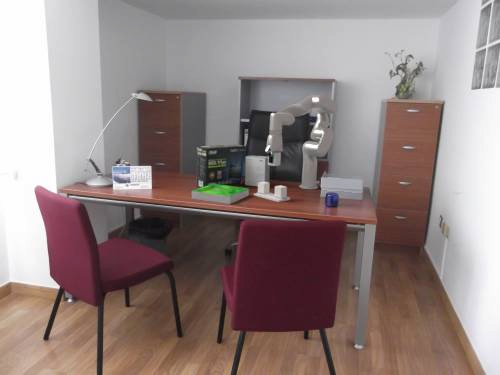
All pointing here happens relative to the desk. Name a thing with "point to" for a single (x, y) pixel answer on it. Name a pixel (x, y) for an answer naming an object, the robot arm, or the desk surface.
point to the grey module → (275, 159)
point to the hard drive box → (256, 170)
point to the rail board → (278, 196)
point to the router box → (220, 165)
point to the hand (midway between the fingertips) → (273, 162)
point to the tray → (220, 193)
